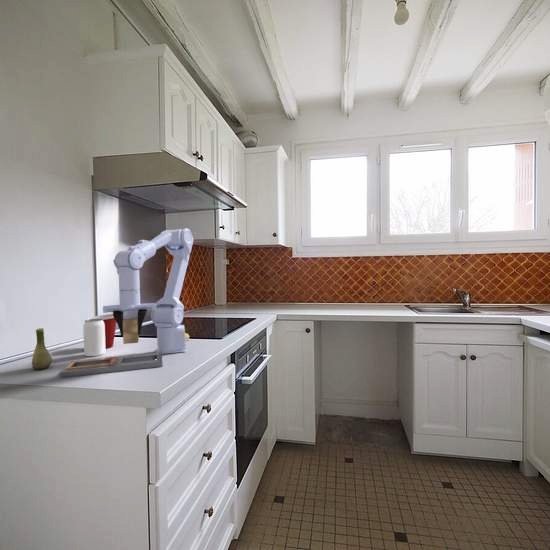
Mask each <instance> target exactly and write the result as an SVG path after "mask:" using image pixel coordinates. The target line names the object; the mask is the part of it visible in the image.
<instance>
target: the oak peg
mask: <svg viewBox="0 0 550 550" xmlns="http://www.w3.org/2000/svg"><path fill="white" fill-rule="evenodd" d="M139 336H140V335H138V317H129V318H128V317H127V318H126V317H125V318H124V317H123V336H122V337H123V338H122V340H123V341H122V342H123V344H124V345H127V344H128V345H129V344H137V343H139V341H140V338H139Z"/></svg>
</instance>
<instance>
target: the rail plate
mask: <svg viewBox="0 0 550 550" xmlns="http://www.w3.org/2000/svg"><path fill="white" fill-rule="evenodd" d="M163 357H164V356H163V354H162V352H159V353H156V352H150V353H141V354H140V353H139V354H131V355H120V356H110V357H100V358H90V359H89V358H88V359H80V360H79V359H78V360H72V361H70V362H69V363H68V365H66V366H65V367H64V368H63V369H62V370H61V371H60V373H59V374H60V379H61V378H62V379H63V378H70V377H71V378H72V377H80V376H90V375H98V374H107V373H116V372H117V371H118V372H126V371H133V370H134V371H135V369H136V370H142V369H144V368H145V369H152V368H151V367H154V368H161V367H160V366H162V367H163V361H162V358H163ZM155 359H157V360H155ZM145 369H144V370H145Z"/></svg>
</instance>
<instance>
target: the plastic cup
mask: <svg viewBox="0 0 550 550" xmlns="http://www.w3.org/2000/svg"><path fill="white" fill-rule="evenodd" d="M89 319H103V322H104V324H105V349H110V348H113V347H114V343H115V342H114V341H115V336H116V328H117V322H116V320H115V318H114V317H113V313H105V314H100V315H95V316H90V317H88V318H86V320H89Z"/></svg>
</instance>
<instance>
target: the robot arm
mask: <svg viewBox="0 0 550 550" xmlns="http://www.w3.org/2000/svg"><path fill="white" fill-rule="evenodd" d="M137 242H138V243H137V244H135V245H130V246H129V247H128V248H127V250H120V251H118V252H117V253H116V254H115V256H114V259H112V260H113V261H112V262H113V265H114V267H115V268H116V273H117V276H118V290H119V291H118V292H119V294H118V295H119V304H113V305H103V306H102V313H103V314H108V313H112V314H113V317H114V318H115V320H116V322H117V323H116V325H117V326H118V330H119V332H120V336H121V337H123V319H124V312H137V318H138V335H139V336H141V334H142V328H143V327H142V326H143V323H144V319H145V318H146V315H147V313H148V311H151V315H150V318H151V321H152V323H153V324H154V327H156V346H157V348H156V352H155V353H159V352H162V355H165V354H177V353H186V346H187V341H185V333H186V332H185V331H186V329H185V325H184V324H182V322H183V319H184V309H185V305H184V304H183V303H182V301H180V298H181V297H180V296H181V294H182V289H183V285H184V280H185V276H186V272H187V268H188V265H189V260H190V255H191V252H192V249H193V248H192V247H193V244H194V237H193V234H192V231H191V230H190V229H189V228H187V227H185V228H179V229H165V230H163V231H161V232H160V234H158V235H157V236H155V237H154V238H152V239H151V240H145V239H140V240H138V241H137ZM163 247H165V249H166V250H167V252H168V253H169V254H170V255H171V256H172V257H173V261H172V263H171V267H170V270H169V275H168V278H167V282H166V287H165V290H164V293H163V297H161V298H159V300H158V301H156V302H154V303H153V302H152V303H149V302H148V303H141V291H140V290H141V283H140V282H141V281H140V279H141V278H140V269H142V267H143V266H144V263H145V262H146V261H147V260H149V259H151V258H152V257H154V256H155V255H156V253H157V250H158V249H161V248H163Z"/></svg>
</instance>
